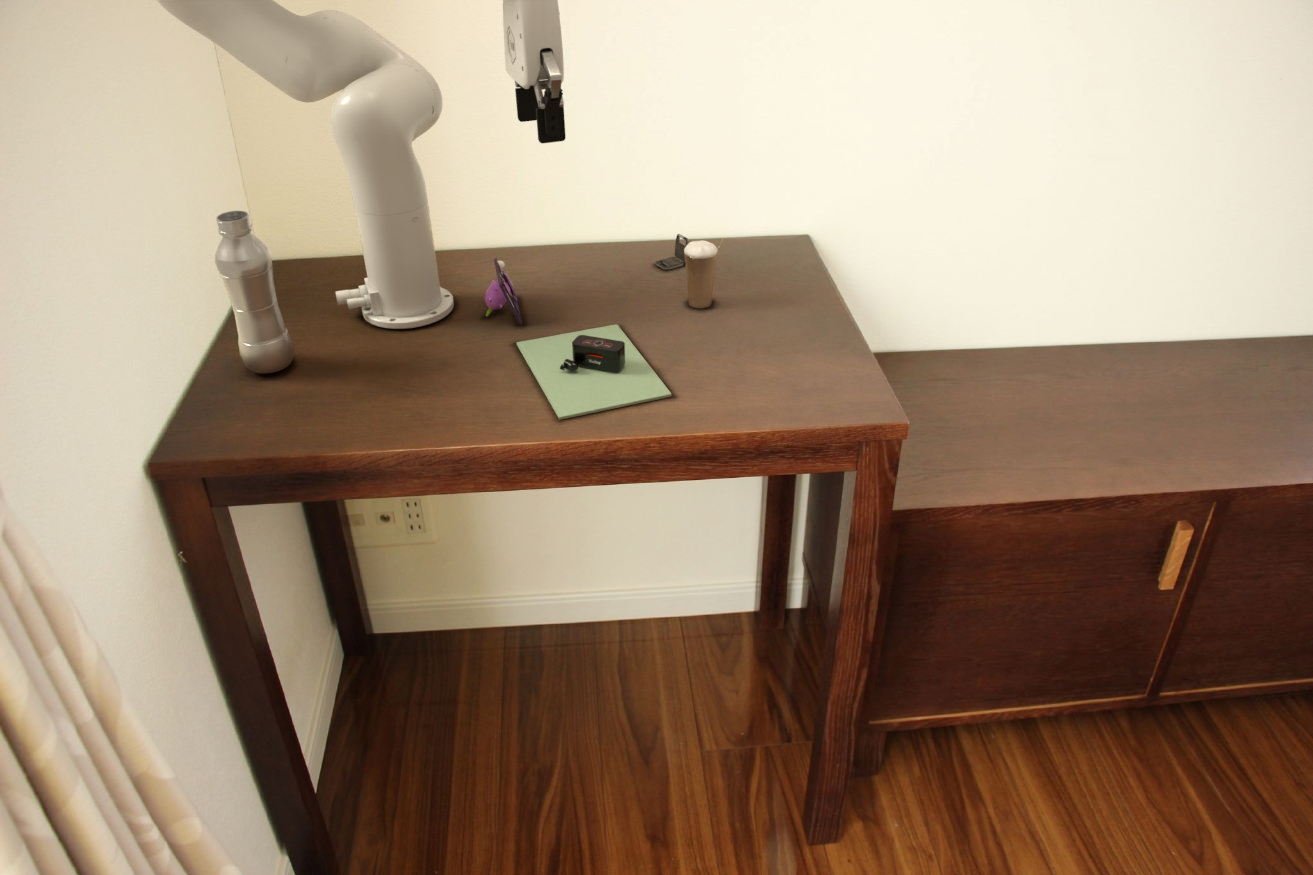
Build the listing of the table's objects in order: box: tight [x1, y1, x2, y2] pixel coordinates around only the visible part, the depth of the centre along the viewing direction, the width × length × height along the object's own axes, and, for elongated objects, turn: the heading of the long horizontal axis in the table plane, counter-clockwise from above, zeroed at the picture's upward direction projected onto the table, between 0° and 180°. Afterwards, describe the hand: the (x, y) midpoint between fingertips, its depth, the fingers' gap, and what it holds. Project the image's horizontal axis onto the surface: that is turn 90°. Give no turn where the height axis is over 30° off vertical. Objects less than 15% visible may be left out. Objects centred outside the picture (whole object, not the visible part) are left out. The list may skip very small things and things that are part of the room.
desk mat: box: [516, 323, 673, 421], centre depth 124 cm, size 14×20×1 cm
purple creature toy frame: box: [484, 257, 523, 326], centre depth 136 cm, size 7×5×9 cm
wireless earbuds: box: [560, 335, 625, 373], centre depth 122 cm, size 5×7×3 cm, turn 70°
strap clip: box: [654, 233, 690, 270], centre depth 151 cm, size 8×3×4 cm, turn 123°
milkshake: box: [684, 238, 724, 309], centre depth 137 cm, size 4×5×10 cm
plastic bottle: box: [214, 210, 295, 375], centre depth 120 cm, size 6×7×20 cm
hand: (541, 130), depth 120 cm, fingers open, 9 cm apart
